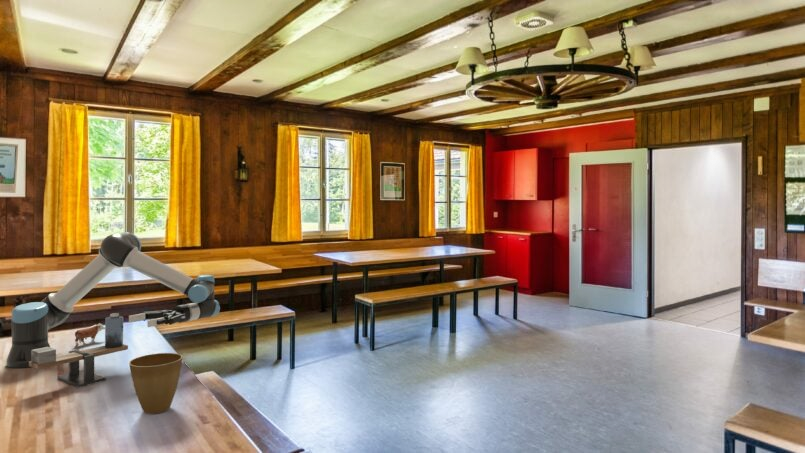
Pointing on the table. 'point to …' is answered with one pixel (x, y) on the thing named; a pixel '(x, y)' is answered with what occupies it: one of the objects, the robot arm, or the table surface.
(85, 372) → the stand
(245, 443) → the table surface
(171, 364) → the plant pot
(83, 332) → the bull figurine
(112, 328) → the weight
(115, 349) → the beam
